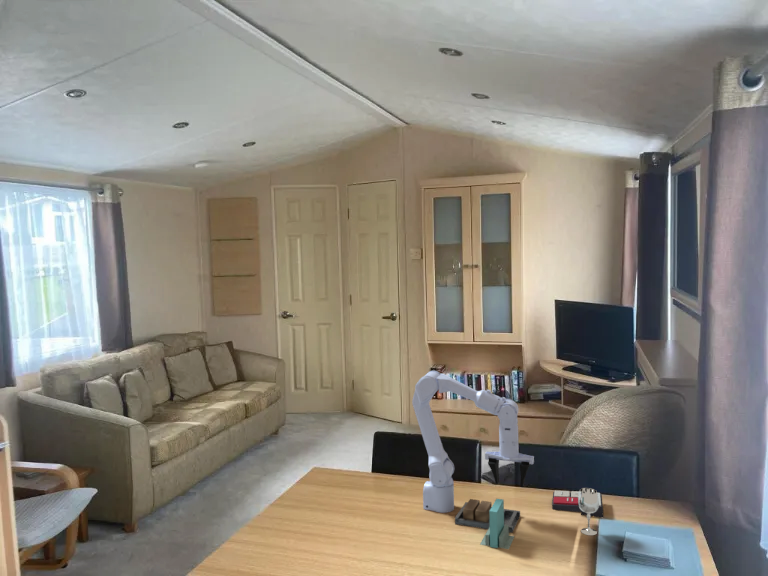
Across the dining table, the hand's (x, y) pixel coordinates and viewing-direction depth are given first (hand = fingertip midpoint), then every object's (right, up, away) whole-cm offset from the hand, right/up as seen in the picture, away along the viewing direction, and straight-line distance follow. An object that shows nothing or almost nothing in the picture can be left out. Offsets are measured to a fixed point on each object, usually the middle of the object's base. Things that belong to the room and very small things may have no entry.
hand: (509, 484), depth 184 cm
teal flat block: (-7, -10, -16) cm, 20 cm away
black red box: (+23, -10, +6) cm, 26 cm away
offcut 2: (-8, -10, -2) cm, 13 cm away
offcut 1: (-12, -10, -1) cm, 15 cm away
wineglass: (+21, -11, -10) cm, 25 cm away
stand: (-7, -11, -16) cm, 21 cm away
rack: (-7, -11, -3) cm, 13 cm away
